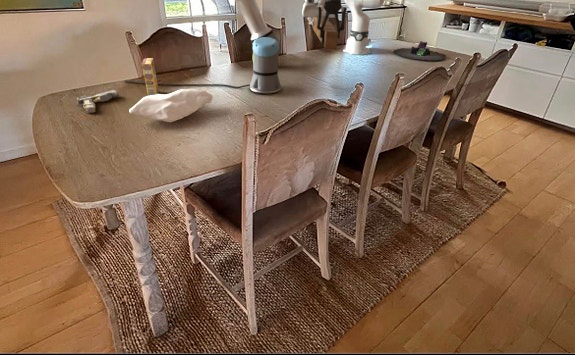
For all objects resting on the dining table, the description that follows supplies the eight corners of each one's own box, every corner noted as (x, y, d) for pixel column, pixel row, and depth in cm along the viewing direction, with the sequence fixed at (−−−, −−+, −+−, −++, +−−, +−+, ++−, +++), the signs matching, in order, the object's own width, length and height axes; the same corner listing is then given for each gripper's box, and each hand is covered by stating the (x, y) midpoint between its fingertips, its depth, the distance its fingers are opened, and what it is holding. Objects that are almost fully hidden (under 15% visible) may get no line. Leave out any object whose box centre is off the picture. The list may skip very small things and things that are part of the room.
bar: (336, 49, 174) (338, 31, 170) (324, 48, 173) (326, 31, 169) (321, 28, 216) (323, 14, 212) (312, 28, 216) (313, 13, 212)
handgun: (128, 97, 156) (111, 87, 164) (86, 107, 144) (70, 97, 152) (129, 103, 157) (113, 94, 165) (88, 114, 146) (72, 103, 154)
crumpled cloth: (117, 110, 146) (113, 90, 140) (195, 92, 166) (194, 73, 160) (143, 139, 134) (140, 118, 128) (223, 116, 154) (224, 96, 148)
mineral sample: (456, 57, 245) (459, 42, 241) (423, 63, 228) (426, 48, 224) (414, 49, 270) (416, 36, 266) (381, 54, 253) (383, 40, 248)
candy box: (157, 97, 164) (152, 63, 155) (147, 98, 163) (141, 63, 155) (158, 91, 171) (153, 57, 163) (149, 91, 170) (143, 58, 162)
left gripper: (352, -8, 170) (346, 43, 182) (312, -10, 169) (309, 42, 181) (355, -7, 164) (349, 47, 176) (314, -8, 162) (310, 46, 175)
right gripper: (338, -2, 205) (335, 25, 213) (302, -3, 204) (301, 24, 211) (340, 0, 200) (337, 27, 208) (303, -1, 199) (302, 26, 206)
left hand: (328, 44), depth 179 cm, fingers closed on bar, 6 cm apart
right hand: (319, 25), depth 209 cm, fingers closed on bar, 5 cm apart
